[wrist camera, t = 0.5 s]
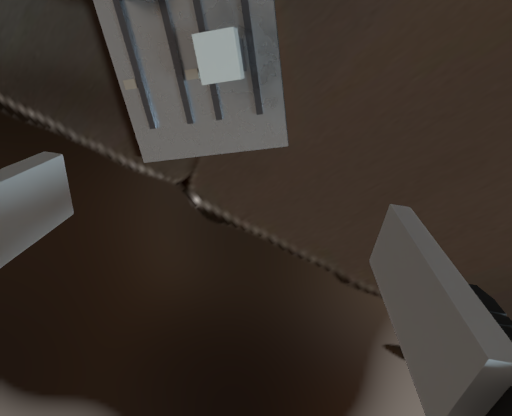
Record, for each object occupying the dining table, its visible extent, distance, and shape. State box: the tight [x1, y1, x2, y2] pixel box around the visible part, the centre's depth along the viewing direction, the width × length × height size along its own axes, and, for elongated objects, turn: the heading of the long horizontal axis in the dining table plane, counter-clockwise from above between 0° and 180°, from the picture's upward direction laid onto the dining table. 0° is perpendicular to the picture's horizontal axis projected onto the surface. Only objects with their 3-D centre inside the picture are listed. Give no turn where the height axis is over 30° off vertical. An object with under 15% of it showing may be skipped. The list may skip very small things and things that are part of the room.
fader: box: [192, 27, 246, 85], centre depth 28 cm, size 4×4×6 cm
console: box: [93, 0, 288, 163], centre depth 32 cm, size 24×18×3 cm
